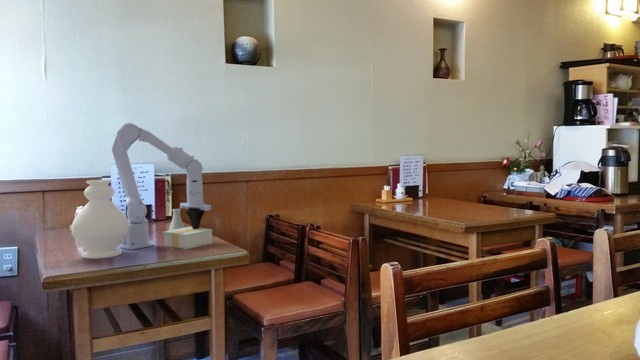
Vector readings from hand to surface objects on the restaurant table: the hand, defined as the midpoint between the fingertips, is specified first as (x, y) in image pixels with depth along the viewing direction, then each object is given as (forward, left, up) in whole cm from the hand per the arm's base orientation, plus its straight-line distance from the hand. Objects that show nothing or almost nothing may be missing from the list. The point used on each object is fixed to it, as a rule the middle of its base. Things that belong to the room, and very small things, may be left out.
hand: (195, 228), depth 193 cm
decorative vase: (-31, +12, -6) cm, 33 cm away
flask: (+10, +23, -6) cm, 26 cm away
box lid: (-4, 0, -1) cm, 4 cm away
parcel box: (-4, 0, -5) cm, 6 cm away
